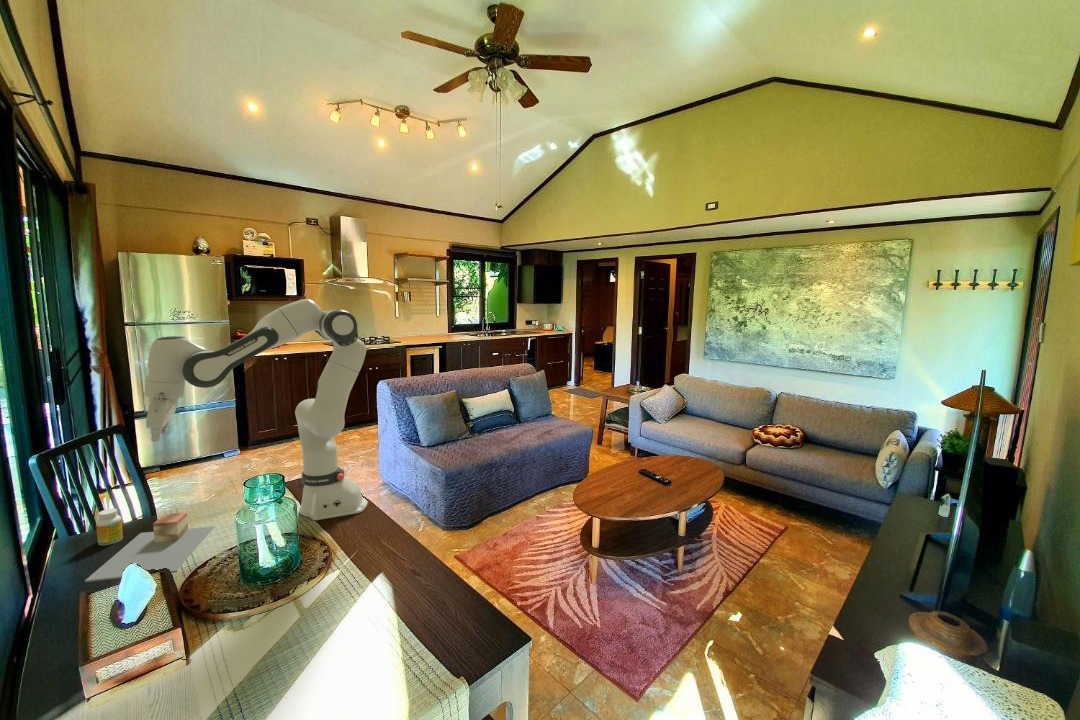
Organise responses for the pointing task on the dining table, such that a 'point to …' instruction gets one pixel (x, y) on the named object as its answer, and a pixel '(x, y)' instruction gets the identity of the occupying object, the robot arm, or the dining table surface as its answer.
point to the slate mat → (151, 554)
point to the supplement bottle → (109, 527)
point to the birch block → (170, 527)
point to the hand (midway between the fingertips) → (159, 436)
